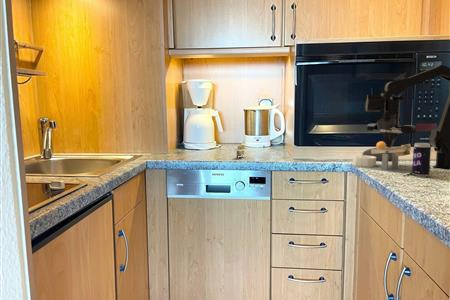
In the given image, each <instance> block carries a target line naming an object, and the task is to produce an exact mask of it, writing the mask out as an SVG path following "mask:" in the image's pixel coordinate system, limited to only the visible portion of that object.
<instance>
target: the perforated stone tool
mask: <svg viewBox="0 0 450 300" xmlns="http://www.w3.org/2000/svg"><path fill="white" fill-rule="evenodd" d="M386 148H387V146H386ZM371 149H377V147H373V148H369V149H365V150H364V151H363V152H362V153H361V155H367V156H374V157H376V162H378V161H381V162H382V154H387V155H389V156H388V162H392V153H378V154H371Z"/></svg>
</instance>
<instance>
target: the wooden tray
mask: <svg viewBox="0 0 450 300" xmlns="http://www.w3.org/2000/svg"><path fill="white" fill-rule="evenodd" d="M386 147H387V146H386ZM411 147H412V146H411V143H407V144H402V145H400V146H392V147H387V148H382V149H372V148H370V149H371V154H378V153H393V152H395V155H396V156H398V157H403V156H408V155H411V151H412V148H411Z"/></svg>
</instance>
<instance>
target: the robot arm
mask: <svg viewBox="0 0 450 300" xmlns="http://www.w3.org/2000/svg"><path fill="white" fill-rule="evenodd" d="M437 77H439V78H441V79H444V80H445V81H448V92H449V93H448V97H447V99H446V102H445V106H444V108H443V112H442V115H441V118H440V121H439V124H438V126H437V128H436V129H431V131H430V135H429V137H428V140H429V144H430V146H431V148H433V150H434V152H436V156H435V157H436V159H435V164H434V165H432V168H437V169H438V168H439V169H447V170H450V67H448V66H446V65H443V64H440V65H437V66H435V67H432V68H429V69H428V70H425V71H422V72H420V73H417V74H415V75H412V76H410V77H406V78H401V79H397V80H392V81H389V82H387V83H386V84H385V86H384V90H383V91H382V92H381V93H380V95H372V94H369V95H366V101H365V104H364V105H365V112H381V111H382V110H384V113H383V114H382V118H380V119H379V120H377V121H376V123H368V124H367V125H366V131H372V132H373V131H379V134H381V135H383V137H384V140H385V144H386V147H393V146H394V144H395V141H396V140H397V139H398V137H399V136H400V134H402V133H403V134H404V133H405V134H414V133H417V126H416V125H411V124H406V125H401V124H400V123H399V119H400V117H401V113H400V108H401V107H400V106H401V101H403V102H404V101H406V98H405V97H404V96H403V94H401V93H403V92H404V91H407V90H408V89H409V88H411V87H413V86H416V85H418V84H420V83H424V82H426V81H430V80H431V79H434V78H437ZM396 95H398V96H396ZM386 98H387V99H386ZM400 125H401V126H400Z"/></svg>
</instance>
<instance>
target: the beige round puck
mask: <svg viewBox="0 0 450 300" xmlns="http://www.w3.org/2000/svg"><path fill="white" fill-rule="evenodd" d="M352 164H353V165H354V166H360V167H374V166H376V164H377V161H376V157H374V156H367V155H362V154H361V155H360V154H359V155H358V154H357V155H353V156H352Z"/></svg>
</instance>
